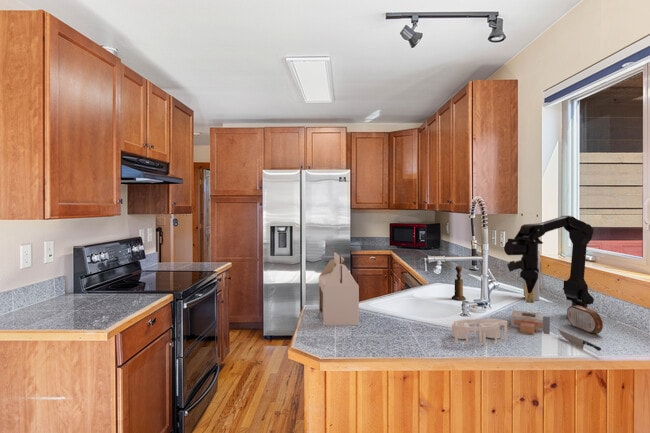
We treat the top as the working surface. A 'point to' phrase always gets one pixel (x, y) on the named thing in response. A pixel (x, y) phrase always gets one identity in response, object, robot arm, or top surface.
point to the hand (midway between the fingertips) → (529, 292)
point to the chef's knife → (577, 340)
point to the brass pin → (529, 296)
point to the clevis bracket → (527, 321)
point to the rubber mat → (546, 325)
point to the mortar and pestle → (458, 286)
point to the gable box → (338, 294)
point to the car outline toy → (479, 329)
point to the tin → (585, 319)
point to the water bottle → (537, 285)
